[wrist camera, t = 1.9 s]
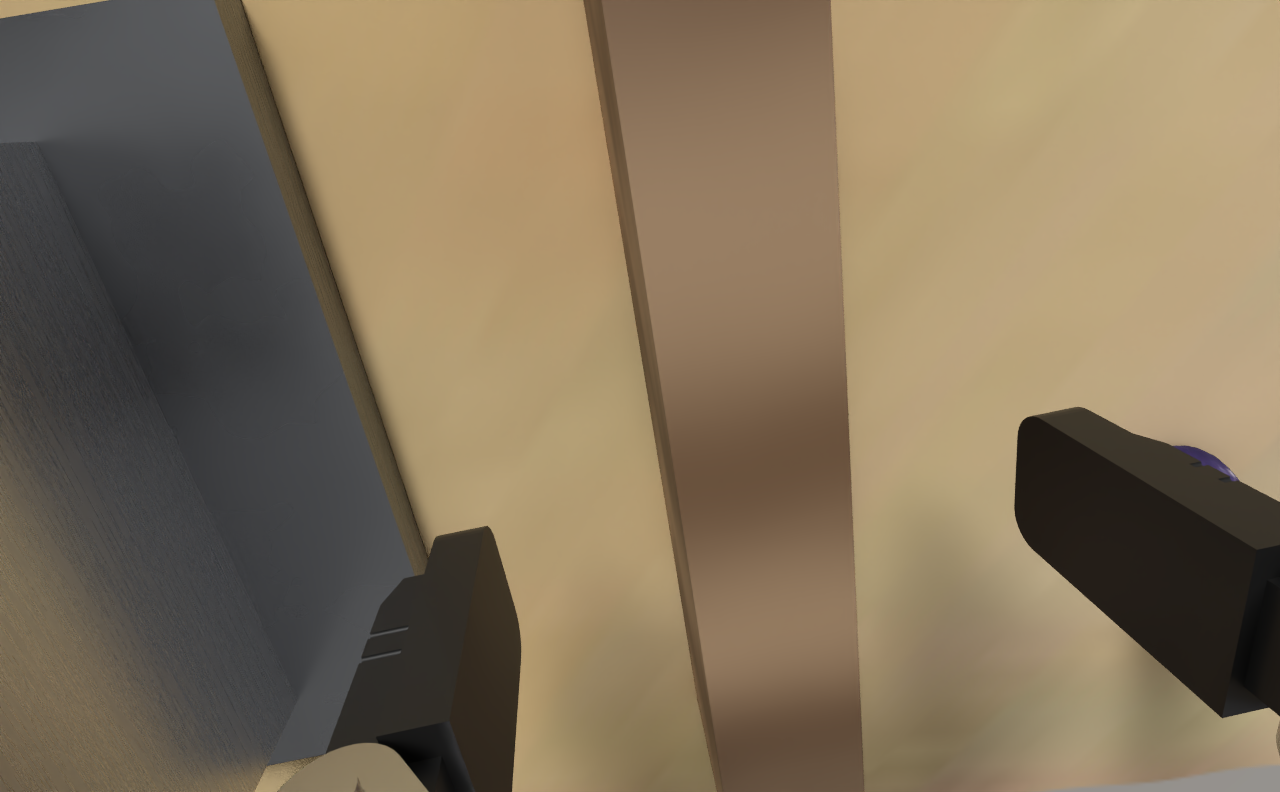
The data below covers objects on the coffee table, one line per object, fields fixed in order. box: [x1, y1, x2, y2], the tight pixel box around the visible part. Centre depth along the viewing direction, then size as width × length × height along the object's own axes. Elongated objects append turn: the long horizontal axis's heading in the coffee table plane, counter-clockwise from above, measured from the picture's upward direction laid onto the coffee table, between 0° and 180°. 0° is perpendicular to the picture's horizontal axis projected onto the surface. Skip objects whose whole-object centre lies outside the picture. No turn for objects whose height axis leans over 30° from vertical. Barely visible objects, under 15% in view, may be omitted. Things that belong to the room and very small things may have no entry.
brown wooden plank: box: [584, 0, 864, 792], centre depth 14 cm, size 22×3×6 cm, turn 9°
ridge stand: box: [0, 0, 428, 792], centre depth 12 cm, size 10×18×10 cm, turn 9°
